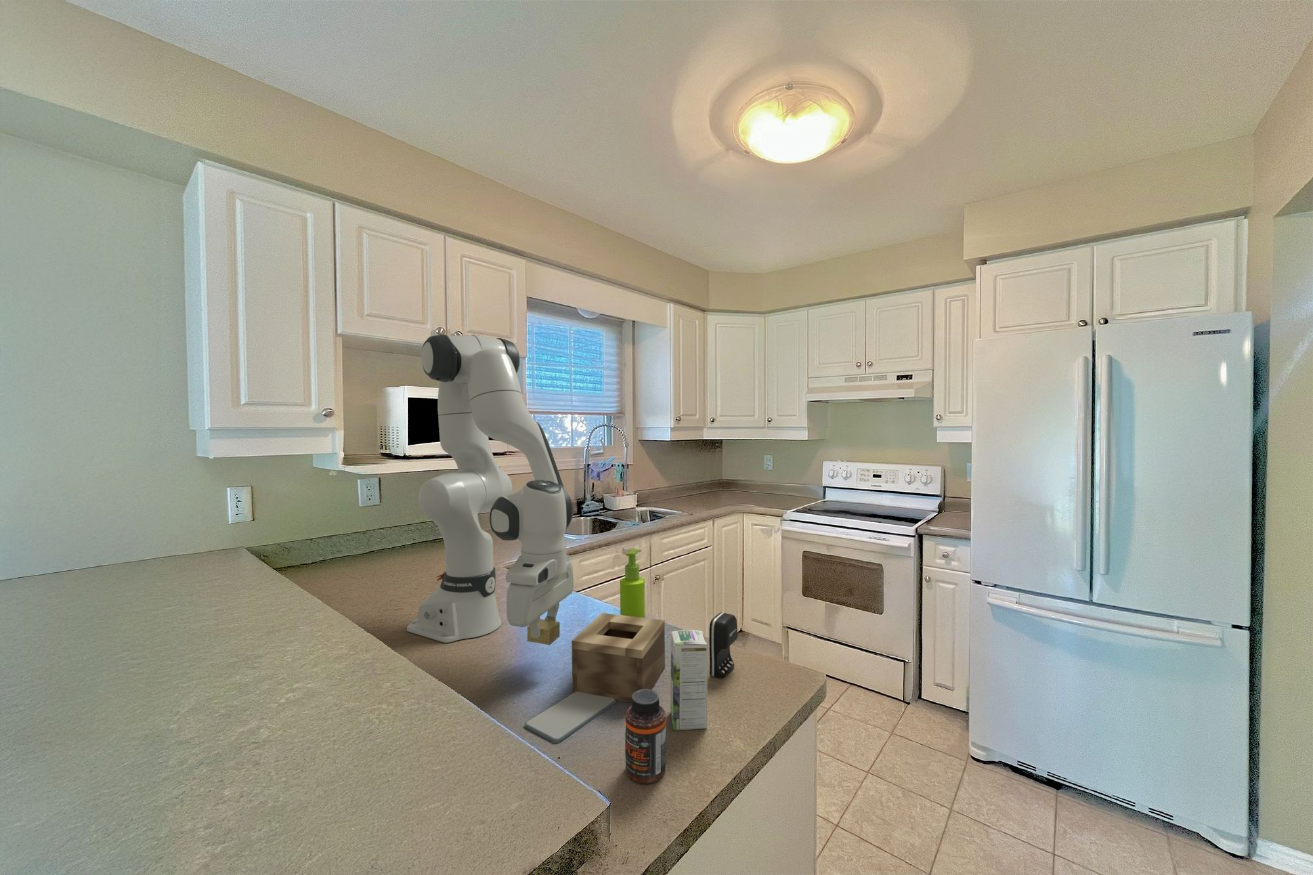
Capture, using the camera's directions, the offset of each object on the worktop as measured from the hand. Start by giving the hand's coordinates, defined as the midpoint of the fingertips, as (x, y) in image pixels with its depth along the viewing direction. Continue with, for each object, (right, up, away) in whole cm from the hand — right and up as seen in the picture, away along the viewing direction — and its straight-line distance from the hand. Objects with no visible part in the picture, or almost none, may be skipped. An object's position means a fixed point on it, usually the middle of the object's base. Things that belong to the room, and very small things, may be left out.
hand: (543, 630), depth 101 cm
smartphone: (+8, -10, -13) cm, 18 cm away
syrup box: (+28, -10, -15) cm, 33 cm away
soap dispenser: (+17, -8, +20) cm, 27 cm away
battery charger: (+36, -9, +1) cm, 38 cm away
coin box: (+16, -9, -2) cm, 18 cm away
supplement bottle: (+21, -10, -28) cm, 36 cm away
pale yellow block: (0, -2, 0) cm, 2 cm away
